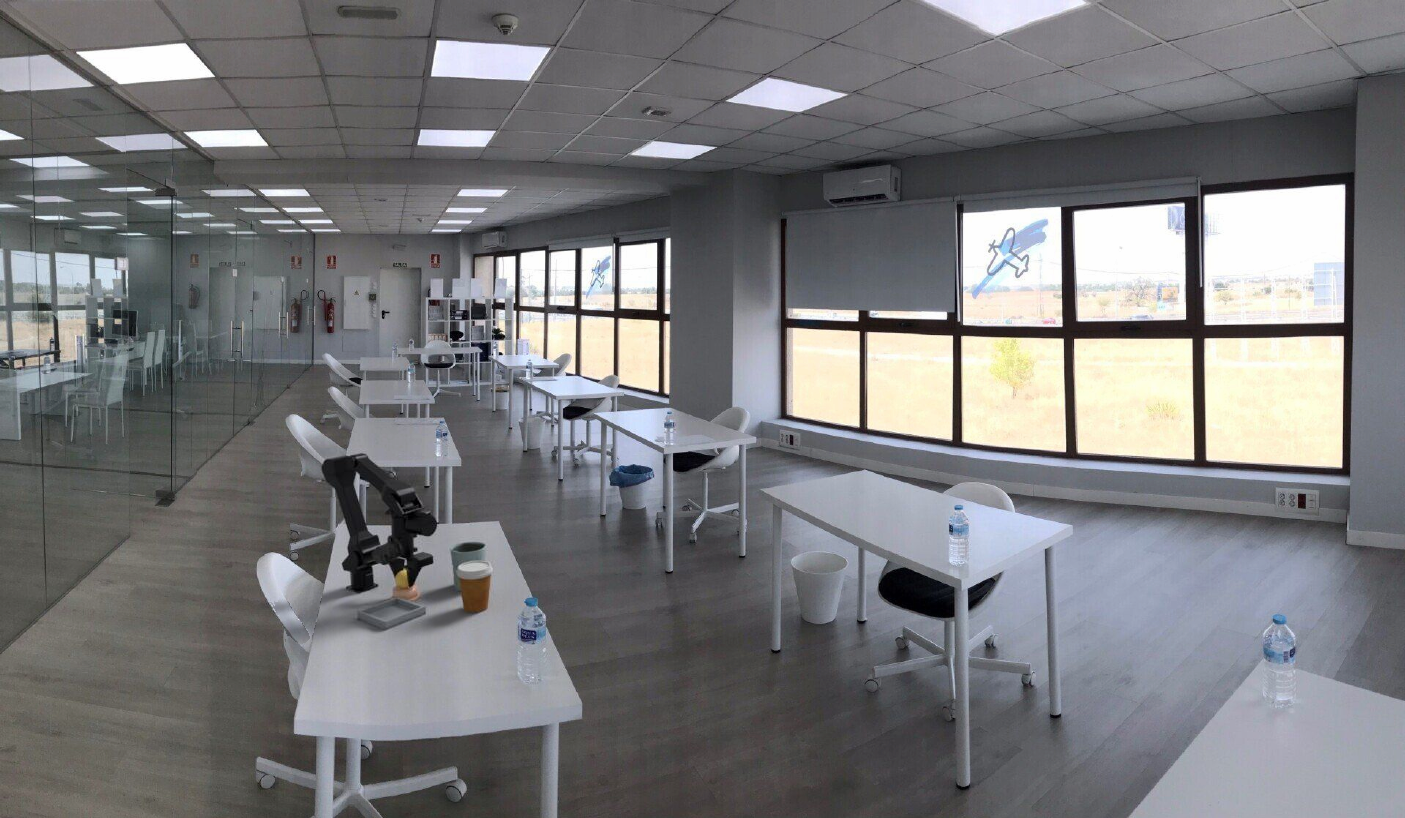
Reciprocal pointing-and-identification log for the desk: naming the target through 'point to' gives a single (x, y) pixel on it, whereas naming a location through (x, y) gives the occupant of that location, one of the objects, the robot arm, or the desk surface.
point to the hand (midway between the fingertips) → (404, 584)
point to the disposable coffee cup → (475, 585)
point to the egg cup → (406, 593)
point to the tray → (391, 613)
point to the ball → (402, 579)
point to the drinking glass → (466, 556)
